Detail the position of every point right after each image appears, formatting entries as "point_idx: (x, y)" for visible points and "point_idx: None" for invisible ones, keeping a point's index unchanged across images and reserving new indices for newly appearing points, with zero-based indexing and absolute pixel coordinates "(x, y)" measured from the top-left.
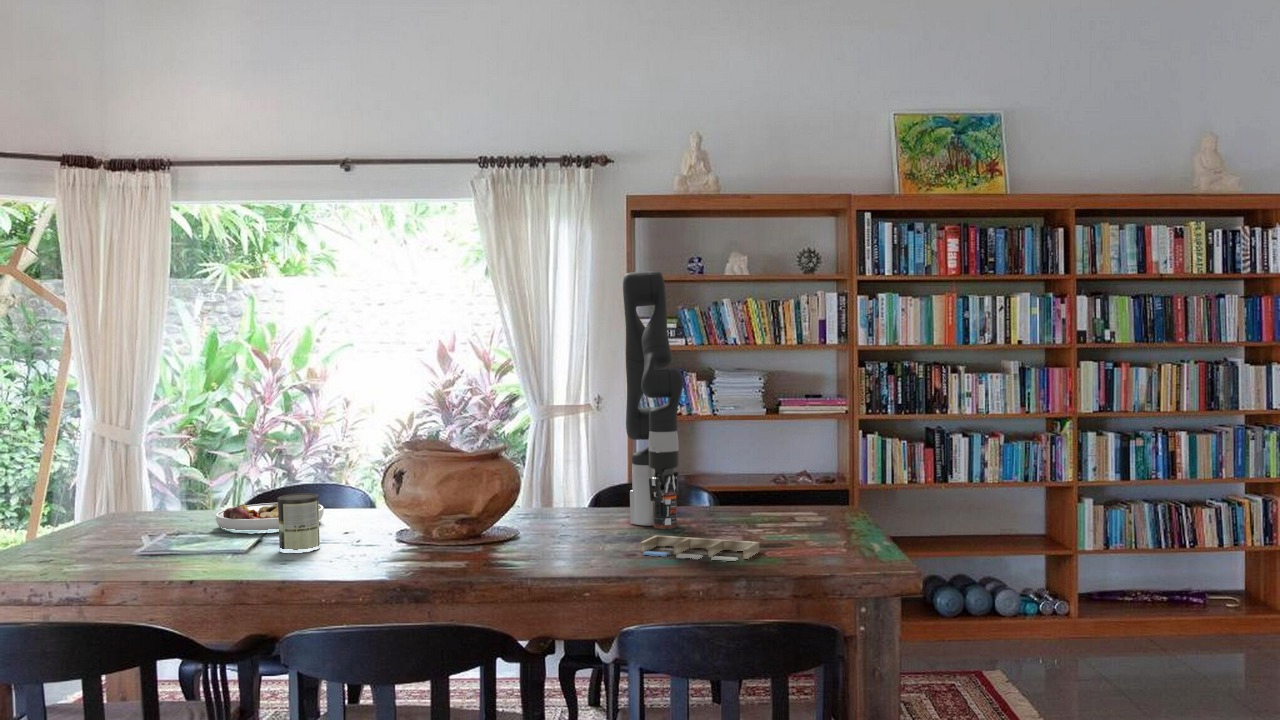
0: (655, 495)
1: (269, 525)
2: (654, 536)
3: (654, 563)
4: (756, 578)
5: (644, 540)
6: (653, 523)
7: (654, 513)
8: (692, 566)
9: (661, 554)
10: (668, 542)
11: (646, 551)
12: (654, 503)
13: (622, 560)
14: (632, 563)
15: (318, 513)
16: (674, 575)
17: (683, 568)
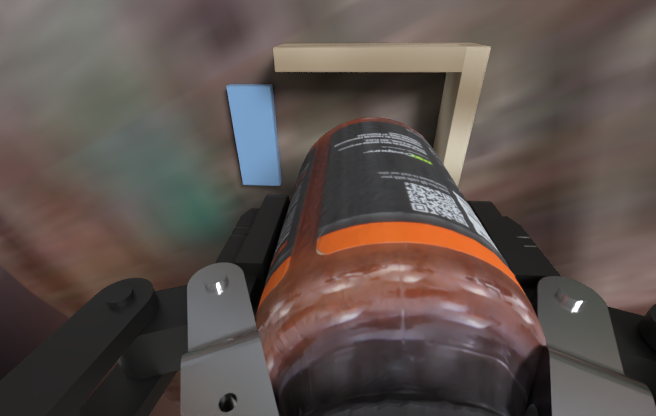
0: (192, 338)
1: None
2: (455, 56)
3: (142, 182)
4: (163, 392)
5: (328, 49)
6: (339, 129)
7: (303, 181)
8: (178, 284)
9: (241, 171)
10: (442, 129)
11: (262, 90)
12: (288, 231)
13: (100, 37)
14: (88, 107)
15: None
16: (65, 275)
17: (144, 272)
